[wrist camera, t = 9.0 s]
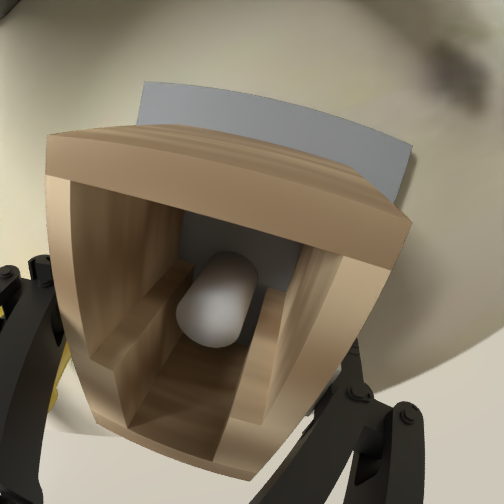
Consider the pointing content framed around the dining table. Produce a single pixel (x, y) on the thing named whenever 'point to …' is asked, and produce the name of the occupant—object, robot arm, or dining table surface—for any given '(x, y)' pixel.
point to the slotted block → (181, 277)
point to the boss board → (243, 238)
